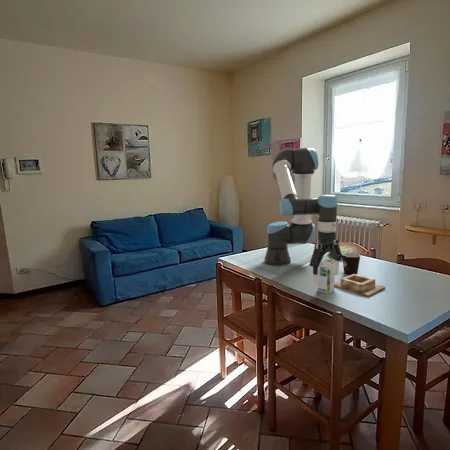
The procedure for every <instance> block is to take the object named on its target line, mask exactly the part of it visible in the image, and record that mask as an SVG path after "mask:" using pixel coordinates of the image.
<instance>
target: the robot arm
mask: <svg viewBox="0 0 450 450" xmlns="http://www.w3.org/2000/svg"><path fill="white" fill-rule="evenodd" d="M271 167H272V171H273V173H274V174H275V176H276V179H277V183H278V187H279V190H280V195H281V199H280V200H279V204H278V205H279V213H280V215H282V216H290V217H291V216H293V218H292V219H291V221H290V223H288V221H284V220H283V221H275V222H272V223H268V225H267V228H266V229H267V231H266V234H267V237H266V238H267V241H266V242H267V243H266V244H267V247H266V248H267V249H266V252H265V255H264V263H265V264H268V265H271V266H286V265H289V264H290V263H291V262H292V261H291V256H290V252H289V250H288V249H289V248H288V247H289V246H288V245H301V244H302V245H306V244H312V242H313V241H314V239H315V236H316V235H315V234H316V226H315V224H314V223H313V220H312V219H311V218H310V216H311V215H318V216H317V217H318V218H317V219H318V220H317V230H318V231H317V239H318V240H319V243H315V244H314V249H313V250H314V251H313V252H312V255H311V257H310V258H311V259H310V262H309V266H310V267H312V275H313V278H312V279H313V280H312V281H313V282H315V283H316V282H317V283H318V282H320V267H319V265H320V263H321V261H322V258H324V256H325V255H326V254H327V253H330V255H331V257H332V259H334V260H335V276H339V271H340V270H339V269H340V262H342V261H343V260H342V254H341V250H340V248H341V247H340V244H339V243H340V241H339V239H337V232H336V231H337V220H338V219H337V216H338V215H337V214H338V199H337V198H338V197H337V195H336V194H322V195H321V194H320V195H319V196H317V197H312V198H311V190H312V189H311V188H312V176H313V175H315V171H316V170H318V169H319V156H318V153H317V151H316V149H315V148H313V147H303V148H302V147H300V148H299V147H298V148H285V149H282V150H280V151H279V152H277V154H276V155H275V156H274V158H273V160H272V165H271ZM293 176H294V177H295V178H293ZM294 180H295V181H294ZM321 250H322V251H321Z"/></svg>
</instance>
